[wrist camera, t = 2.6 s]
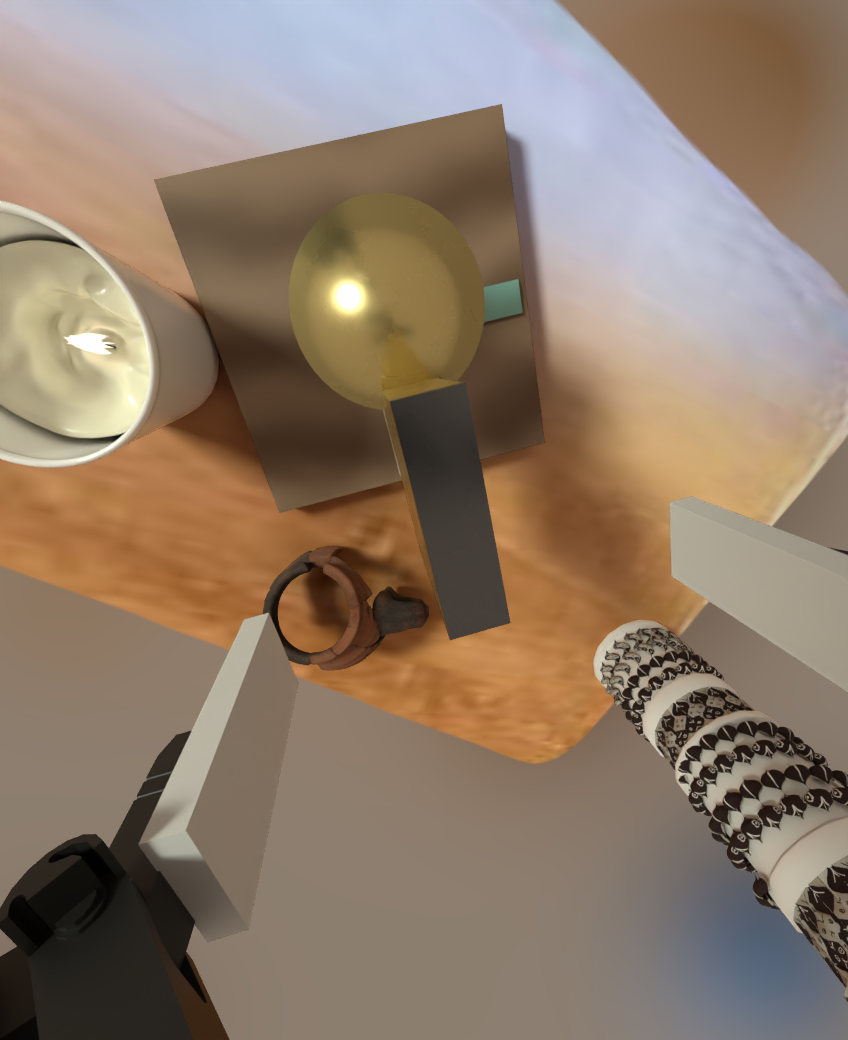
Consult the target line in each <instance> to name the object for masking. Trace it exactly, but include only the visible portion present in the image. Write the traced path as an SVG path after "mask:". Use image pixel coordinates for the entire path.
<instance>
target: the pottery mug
mask: <svg viewBox="0 0 848 1040" xmlns="http://www.w3.org/2000/svg"><path fill="white" fill-rule="evenodd" d="M341 551H342V549H341V547H340V546H326V547H321V548H317V549H316V550H314V551H308V552H306V553H304V554H303V555H301V556H300V557H299V558H297V559H296V560H295V561H294V562H292V563H291V564H290V565H289V566H288V567H287V568H286V569H285V570H284V571H283V572H282V573H281V574H280V575H279V576H278V577H277V578H276V579H275V581H274V582H273V584H272V585H271V587H270V591H269V592H268V593H267V596H266V599H265V604H264V609H263V614H266V613H269V614H270V617H271V619H272V621H273V624H274V626H275V628H276V631H277V633H278V636H279V638H280V640H281V643H282V645H283V647H284V650H285V652H286V655H287V657H288V659H289V660H290V661H292V662H295V663H298V664H303V665H310V664H313V665H315V664H318V665H319V667H320V668H321V669H322V670H340V669H345V668H348V667H350V666H353V665H355V664H357V663H359V662H361V661H363V660H364V659H366V657H367V656H368V655H370V654H371V653H372V652H373V651H374V650H375V649H376V648H377V646H378V645H379V644H380V642H381V641H382V640H383V638H384V636H385V635H386V634H390V633H395V632H401V631H404V630H406V629H412V628H420V627H422V626H423V625H424V624H425V622H426V620H427V618H428V617H429V608H428V606H427V605H426V604H425V603H424V602H423V601H422V600H421V599H416V598H410V597H404V596H401V595H399V594H397V593H396V592H395V591H394V590H393V589H392V588H391V587H387V588H386V589H385V590H384V591H381V592H380V593H379V594H378V595H377V596H376V598H375V600H374V602H373V608H371V607H370V606H369V605H368V603H367V601H366V600H367V599H368V598H369V597H370V596H371V595H372V592H371V590H370V589H369V588H368V586H367V585H366V583H365V582H364V581H363V579H362V578H361V576H360V575H359V574H358V573H357V572H355V571H354V570H353V569H352V568H351V567H350V566H349V565H348V564H347V563H346V562H344V561H343V560H341V559H339V558H337V557H335V555H336V554H337V553H340V552H341ZM313 567H314V568H315V567H316V568H319V567H321V568H323V573H324V574H326V575H328V576H329V577H331V578H332V579H334V580H335V581H336V582H337V583H338V584H339V585H340V586H341V588H342V589H343V591H344V592H345V595H346V597H347V600H348V604H349V607H350V612H349V621H348V625H347V628H346V630H345V632H344V634H343V636H342V637H341V639H340V640H339V641H338V642H337V643H336V644H335V645H334V646H333V647H331V648H329V649H327V650H325V651H322V652H314V653H308V652H304V651H301V650H299V649H297V648H295V647H294V646H292V645H291V644H290V643H289V642H288V641H287V640H286V638H285V637H284V636H283V634H282V632H281V629H280V626H279V622H278V604H279V600H280V597H281V595H282V593H283V591H284V590H285V588H286V587H287V585H288V584H289V583H290V582H291V581H292V580H293V579H295V578H296V577H298V576H299V575H301V574H304V573H307V572H310V571H311V569H312V568H313Z"/></svg>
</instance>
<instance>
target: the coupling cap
mask: <svg viewBox="0 0 848 1040" xmlns="http://www.w3.org/2000/svg"><path fill="white" fill-rule="evenodd" d="M289 309H290V317H291V322H292V326H293V330H294V334H295V337H296V339H297V342H298V344H299V347H300V349H301V351H302V353H303V355H304V356H305V358H306V360H307V361H308V363H309V364H310V366H311V367H312V369H313V370H314V371H315V373H316V374H317V375H318V376H319V377H320V378H321V379H322V381H324V382H325V383H326V384H327V385H328V386H329V387H330V388H331V389H333V390H334V391H335V392H337V393H338V394H340V395H341V396H343V397H344V398H346V399H348V400H350V401H352V402H354V403H357V404H360V405H362V406H365V407H369V408H373V409H379V410H384V413H385V417H386V421H387V425H388V428H389V432H390V436H391V440H392V444H393V448H394V452H395V455H396V459H397V463H398V467H399V471H400V475H401V479H402V483H403V486H404V490H405V494H406V498H407V502H408V506H409V510H410V513H411V517H412V521H413V525H414V529H415V533H416V537H417V541H418V544H419V548H420V552H421V555H422V558H423V561H424V564H425V567H426V570H427V573H428V576H429V579H430V582H431V585H432V588H433V591H434V594H435V597H436V600H437V603H438V606H439V609H440V612H441V615H442V618H443V621H444V624H445V627H446V630H447V633H448V636H449V639H450V640H452V639H456V638H459V637H463V636H466V635H470V634H473V633H477V632H480V631H484V630H487V629H491V628H494V627H498V626H501V625H505V624H508V623H510V618H509V613H508V608H507V602H506V597H505V591H504V586H503V581H502V575H501V570H500V564H499V559H498V554H497V548H496V543H495V538H494V532H493V527H492V521H491V516H490V511H489V505H488V500H487V494H486V489H485V484H484V478H483V473H482V467H481V462H480V457H479V451H478V446H477V441H476V435H475V430H474V424H473V419H472V414H471V408H470V403H469V397H468V392H467V387H466V382H458V381H457V380H458V379H459V378H460V377H461V376H462V375H463V373H464V372H465V370H466V369H467V367H468V366H469V364H470V363H471V361H472V359H473V357H474V355H475V353H476V350H477V347H478V345H479V342H480V339H481V335H482V331H483V325H484V317H485V297H484V287H483V283H482V278H481V273H480V271H479V268H478V265H477V262H476V259H475V257H474V255H473V253H472V251H471V249H470V247H469V245H468V244H467V242H466V241H465V239H464V238H463V236H462V235H461V233H460V232H459V231H458V230H457V229H456V227H455V226H454V225H453V224H452V223H451V222H450V221H449V220H448V219H447V218H445V217H444V216H443V215H442V214H441V213H439V212H438V211H437V210H435V209H434V208H432V207H431V206H429V205H427V204H425V203H423V202H421V201H419V200H417V199H414V198H411V197H408V196H405V195H399V194H393V193H372V194H365V195H361V196H358V197H354V198H351V199H349V200H347V201H345V202H343V203H341V204H339V205H337V206H335V207H334V208H333V209H331V210H330V211H328V212H327V213H326V214H325V215H323V216H322V217H321V218H320V219H319V220H318V221H317V222H316V223H315V225H314V226H313V227H312V228H311V230H310V231H309V232H308V234H307V235H306V237H305V239H304V240H303V242H302V244H301V246H300V247H299V250H298V252H297V255H296V257H295V260H294V264H293V267H292V271H291V276H290V284H289Z"/></svg>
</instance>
